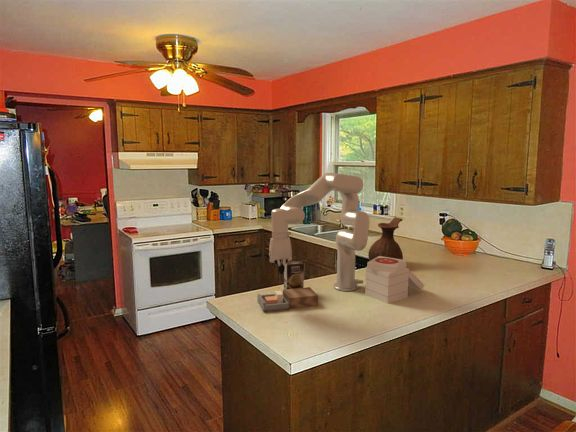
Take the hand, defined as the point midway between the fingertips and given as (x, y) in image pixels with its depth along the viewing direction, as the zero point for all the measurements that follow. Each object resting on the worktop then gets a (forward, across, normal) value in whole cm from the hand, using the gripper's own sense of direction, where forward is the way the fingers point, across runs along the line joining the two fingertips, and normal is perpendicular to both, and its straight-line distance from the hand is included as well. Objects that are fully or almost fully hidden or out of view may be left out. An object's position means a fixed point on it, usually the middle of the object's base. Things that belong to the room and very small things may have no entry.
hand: (281, 273), depth 194 cm
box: (+15, +5, 0) cm, 16 cm away
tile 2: (+12, 0, 0) cm, 12 cm away
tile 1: (+12, +6, 0) cm, 13 cm away
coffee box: (+16, -10, -14) cm, 23 cm away
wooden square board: (+16, -9, 0) cm, 18 cm away
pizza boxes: (+18, -59, +1) cm, 61 cm away
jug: (+19, -80, -45) cm, 94 cm away
